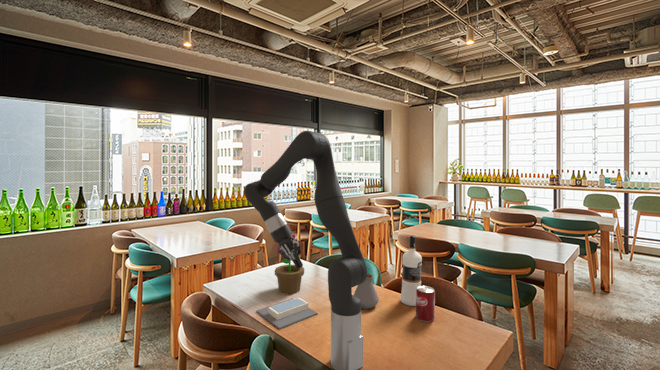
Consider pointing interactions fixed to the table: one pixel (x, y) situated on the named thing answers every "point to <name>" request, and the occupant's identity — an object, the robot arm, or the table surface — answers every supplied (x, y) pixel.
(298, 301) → the slate tablet
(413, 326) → the table surface
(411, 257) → the vodka
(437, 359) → the table surface
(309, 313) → the rubber mat
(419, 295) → the soda can
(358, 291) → the coffee pot
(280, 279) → the flowerpot
